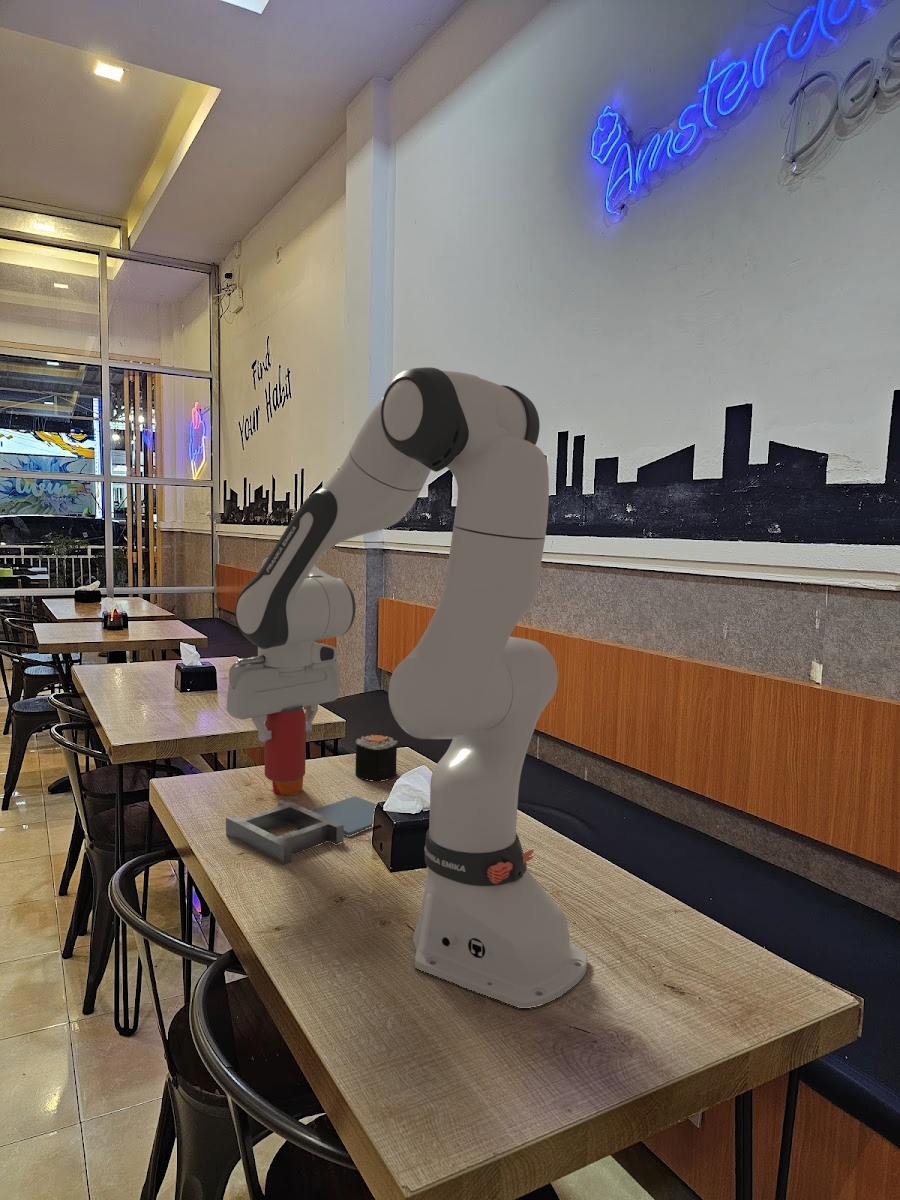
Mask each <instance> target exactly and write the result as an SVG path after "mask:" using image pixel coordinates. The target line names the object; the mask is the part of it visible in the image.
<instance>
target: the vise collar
mask: <svg viewBox="0 0 900 1200" xmlns="http://www.w3.org/2000/svg"><path fill="white" fill-rule="evenodd" d="M289 823H290V824H289ZM292 824H293V825H292ZM286 825H287V826H288V825H292V826H294V825H295V826H294V827H297V826H298V827H297V828H300V829H298V830H295V831H292V832H289V833H286V834H283V835H280V836H277V835H275V834H273V833H270V832H269V831H272V830H275V829H277V828H281V827H283V826H286ZM225 835H226V836H228V837H229V838H231V839H234V840H235V841H237V842H239V843H241V844H243V845H245V846H246V847H248V848H250V849H251V850H253V851H256V852H257V853H260V854H262V855H263V856H265V857H267V858H269V859H270V860H273V861H275V862H276V863H279V864H280V865H282V866H286V865H288V864H289V865H290V864H291V863H292V859H293V858H292V857H293V854H294V855H297V854H299V853H301V851H302V852H304V851H303V850H305V851H307V850H309V849H308V848H310V849H312V848H311V847H313V846H315V847H317V846H316V845H318V844H321V843H323V844H325V843H324V842H326V841H331V842H333V843H335V844H338V843H340V842H343V843H344V840H345V839H344V836H345V835H344V825H342V824H340V823H338V822H336V821H333V820H331V819H329V818H326V817H324V816H322V815H320V814H317V813H315V812H313V811H311V810H310V809H308V808H306V807H304V806H302V805H299V804H297V803H294V802H291V801H289V800H288V799H282V800H279V801H278V802H277V806H275V807H273V808H269V809H266V810H263V811H261V812H257V813H253V814H250V815H247V816H244V817H238V816H236V815H234V814H233V815H230V816H229V815H228V816H226V817H225ZM331 842H330V843H331ZM326 843H327V842H326ZM333 843H332V844H333ZM335 844H334V845H335ZM321 845H322V844H321ZM338 845H339V844H338ZM318 846H319V845H318ZM313 848H314V847H313ZM306 849H307V850H306ZM298 852H299V853H298ZM296 853H297V854H296Z"/></svg>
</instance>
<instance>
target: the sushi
mask: <svg viewBox="0 0 900 1200" xmlns="http://www.w3.org/2000/svg"><path fill="white" fill-rule="evenodd" d="M397 748H398V740H394V738H393V737H392V736H387V735H385V736H384V735H380V734H379V735H378V734H371V735H366V736H364V735H361V737H360V738H357V739H356V740H355V776H356V777H357V778H359V777H360V778H359V779H361V778H363V779H362V780H365V779H368V780H373V781H381V780H386V779H389V778H391V777H394V776H395V777H397V757H398V756H397V753H398V749H397ZM395 777H394V778H395ZM391 779H392V778H391ZM368 780H367V781H368ZM389 780H390V779H389ZM373 781H372V782H373Z"/></svg>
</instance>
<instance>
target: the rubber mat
mask: <svg viewBox="0 0 900 1200" xmlns="http://www.w3.org/2000/svg"><path fill="white" fill-rule="evenodd" d="M376 805H378V804H376V803H374V802H371V801H368V799H367V800H366V799H364V798H361V797H358V796H356V795H354V796H352V797H351V796H350V797H348V798H345V799H341V800H340V801H336V802H333V803H330V804H327V805H325V806H321V807H318V808H314V809H311V810H310V811H313V812H315V813H317V814H320V815H322V816H324V817H326V818H329V819H331V820H333V821H336V822H338V823H340V824H342V825H344V834H346V835H348V836H349V835H352V834H355V833H357V832H360V831H362V830H365V829H366V828H369V827H372V824H373V814H374V809H375V806H376Z"/></svg>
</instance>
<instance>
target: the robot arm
mask: <svg viewBox="0 0 900 1200" xmlns="http://www.w3.org/2000/svg"><path fill="white" fill-rule="evenodd" d="M539 434H540V417H539V413H538V410H537V408H536V406H535V404H534V403H533V402H532V400H531V399H529V397H528V396H526V395H525V394H524V393H522V392H521V391H519V390H518V389H516V388H514V387H511V386H509V385H504V384H503V385H500V384H498V383H496V382H493V381H490V380H487V379H484V378H481V377H479V376H477V375H475V374H470V373H464V372H460V371H451V370H450V371H449V370H441V369H439V368H436V367H429V366H427V367H414V368H409V369H406V370H403V371H401V372H400V373H398V374H397V375H395V377H393V378H392V380H391V381H390V383H389V385H388V386H387V387H386V390H385V392H384V394H383V396H382V397H381V399H380V400H379V401H378V402H377V403H376V405H375V406H374V408H373V409H372V411H371V412H370V414H369V415H368V417H367V418H366V419H365V422H364V423H363V424H362V427H361V428H360V430H359V431H358V433H357V436H356V437H355V440H353V444H352V446H351V447H350V450H349V452H348V454H347V456H346V457H345V459H344V461H343V462H342V464H341V465H340V467H339V468H338V469H337V470H336V472H335V473H334V474H333V475H332V476H331V477H330V479H329V480H328V481H327V482H325V483H324V485H323V486H322V487H321V486H320V488H319V489H318V490H317V491H315V492H314V493H312V494H311V495H310V496H308V498H306V499H305V501H304V502H303V503H302V504H301V506H300V507H299V509H297V511H296V513H295V515H294V516H293V518H292V519H291V520H290V522H289V524H288V525H287V527H286V528H285V530H284V532H283V533H282V534H281V536H280V538H279V540H278V542H277V543H276V545H275V546H274V548H272V549H273V550H272V551H271V553H270V554H269V556H267V557H265V558H264V559H263V560H262V562H261V565H260V570H258V572H257V573H256V574H255V576H254V577H252V578H251V579H250V581H249V582H247V584H245V586H244V588H243V589H242V590H241V592H240V594H239V595H238V598H237V600H236V603H235V610H234V616H235V617H234V618H235V622H236V625H237V628H238V630H239V632H241V634H242V635H243V636H244V637H245V638H246V639H247V641H249V642H251V643H252V644H253V645H255V646H256V647H257V656H252V657H247V658H246V657H245V658H240V659H237V660H236V662H234V663H233V664H232V665H231V666H230V668H229V671H228V682H229V683H228V688H227V695H226V696H227V697H226V712H227V713H228V714H229V715H230V716H231V717H232V718H235V719H237V720H246V719H251V721H252V723H253V725H254V727H255V728H256V730H257V739H258V741H259V742H262V743H265V742H266V741H270V740H272V736H271V735H272V730H270V729H267V728H266V726H265V721H267V714H272V713H277V712H281V710H282V709H295V708H299V707H300V706H303V710H305V711H304V713H305V717H306V733H308V732H311V731H312V730H313V721H314V719H315V717H316V715H317V713H318V711H319V710H318V709H319V705H320V704H325V703H330V702H335V701H336V700H337V699H338V697H339V695H340V694H341V693H340V692H341V677H340V676H341V674H340V667H339V664H338V663H337V661H335V660H338V658H339V648H337V647H334V646H332V645H328V644H324V643H320V642H319V640H326V639H333V638H337V637H340V636H343V635H345V634H346V633H347V632H348V631H349V630H350V629H351V627H352V626H353V623H354V620H355V618H356V608H357V607H356V606H357V605H356V600H355V595H354V593H353V591H352V589H351V587H350V586H349V584H347V583H346V581H344V580H343V579H341V578H338V577H337V578H336V577H333V576H332V575H330V574H328V573H326V572H324V571H323V570H321V569H320V568H318V567H317V566H316V563H317V562H318V560H319V559H320V558H321V556H322V555H323V554H324V553H325V552H327V551H328V550H329V549H331V548H333V547H334V546H337V545H338V544H340V543H343V542H344V541H348V540H350V539H353V538H356V537H359V536H362V535H363V536H364V535H366V534H369V533H374V532H377V531H382V530H385V529H388V528H390V527H392V526H394V525H395V524H397V523H399V522H400V521H401V520H402V519H403V518H404V517H405V516H406V515H407V513H408V512H409V511H410V510H411V509H412V507H413V506H414V504H415V503H416V501H417V498H418V497H419V495H420V494H421V491H422V490H423V488H424V486H425V483H426V481H427V479H428V477H429V476H430V474H431V471H433V472H440V471H442V470H444V469H445V468H446V469H448V470H449V471H450V472H451V473H452V475H453V477H454V478H455V481H456V484H457V500H456V506H455V512H454V519H453V520H454V521H453V527H452V535H451V541H450V548H449V555H448V561H447V568H446V574H445V580H444V585H443V589H442V592H441V596H440V598H439V601H438V603H437V606H436V608H435V610H434V613H433V615H432V617H431V620H429V623H428V625H427V628H426V629H425V631H424V633H423V635H422V636H421V638H420V640H419V641H418V642H417V644H416V646H414V648H413V649H412V650H411V652H410V653H409V654H408V655H407V656H406V657H405V658H404V659H403V660H401V661H400V662H399V663H398V664H397V665H396V667H395V669H393V672H392V674H391V677H390V680H389V684H388V703H389V707H390V711H391V713H392V715H393V717H394V720H395V721H396V723H397V724H398V725H399V727H400V728H401V729H402V730H403V731H404V732H405V734H408V735H409V736H411V737H413V738H416V739H420V740H452V741H451V742H450V745H449V747H447V748H448V749H447V750H446V752H445V753H444V755H443V756H442V757H441V758H440V759H439V761H438V762H437V764H436V765H435V767H434V768H433V771H432V774H431V777H430V787H429V788H430V789H429V790H430V792H429V821H428V823H429V824H428V825H429V827H428V830H426V833H425V845H424V862H425V865H426V874H425V875H426V878H425V885H424V892H423V897H422V902H421V907H420V913H419V917H418V919H417V920H418V921H417V923H416V927H415V929H414V932H413V936H412V940H413V941H412V942H413V945H414V948H415V951H416V952H415V955H414V963H413V966H414V965H415V966H414V968H415V969H416V968H417V969H419V970H421V971H420V972H422V971H424V972H423V973H425V972H427V973H429V974H428V975H430V974H432V975H434V976H433V977H435V976H438V977H439V978H438V977H437V978H438V979H440V978H443V979H446V980H448V981H450V982H449V983H451V982H453V983H455V984H454V985H456V984H457V985H456V986H458V985H459V987H461V988H464V989H466V988H467V990H470V991H471V990H472V991H471V992H474V991H475V992H474V993H477V994H479V993H480V994H479V995H482V994H483V995H482V996H484V995H486V996H485V997H487V996H488V998H490V997H491V998H490V999H492V998H495V999H498V1000H501V1001H503V1002H507V1003H509V1004H512V1005H514V1006H519V1007H530V1006H531V1007H532V1006H537V1005H540V1004H544V1003H547V1002H549V1001H552V1000H554V1001H556V1000H557V999H556V998H558V997H560V996H561V997H563V996H564V995H565V994H564V993H566V992H567V991H568V990H570V989H571V988H572V987H573V986H574V987H576V986H577V985H578V984H579V983H580V982H581V980H582V979H583V978H584V977H585V975H586V973H587V970H588V955H587V953H586V952H585V951H583V950H582V949H580V948H579V947H578V946H576V945H574V944H573V943H572V942H570V933H569V932H570V931H569V925H568V921H567V916H566V914H565V913H564V911H563V910H562V908H561V907H559V905H558V904H557V903H556V902H555V901H554V900H553V899H552V897H551V895H549V894H548V893H547V892H546V890H545V889H544V888H543V887H542V886H541V885H540V883H539V881H537V880H536V879H535V877H534V876H533V875H532V874H531V873H530V871H528V869H527V868H528V867H527V862H529V861H531V860H532V859H534V855H532V854H533V853H534V851H535V849H529V850H528V851H526V852H524V851H523V847H522V845H521V844H522V843H521V841H520V837H519V835H518V833H517V821H518V820H517V819H518V807H519V790H520V781H521V775H522V770H523V766H524V762H525V758H526V756H527V752H528V750H529V747H530V743H531V740H532V736H533V734H534V731H535V728H536V726H537V723H538V721H539V719H540V717H541V714H542V713H543V712H544V710H545V708H546V707H547V706H548V704H549V703H550V702H551V700H552V699H553V697H554V696H555V694H556V692H557V689H558V682H559V671H558V667H557V664H556V661H555V659H554V657H553V655H552V654H551V652H550V651H549V650H548V648H547V647H545V646H544V645H543V644H541V643H540V642H538V641H535V640H533V639H532V640H531V639H528V638H522V637H517V636H511V635H512V633H513V631H514V629H516V628H515V627H516V626H517V625H518V623H519V621H520V620H521V619H522V617H523V616H524V615H525V614H527V612H528V611H530V609H531V607H532V605H533V604H534V603H535V601H536V598H537V594H538V586H539V580H540V574H541V567H542V560H543V555H544V554H543V553H544V548H545V542H546V541H545V540H546V535H547V525H548V518H549V517H548V515H549V497H550V490H549V489H550V486H549V485H550V481H549V480H550V479H549V465H548V464H549V463H548V460H547V457H546V455H545V454H544V452H543V451H542V449H540V448H539V447H538V446H537V442H538V439H539V437H540V436H539ZM417 969H416V970H417ZM419 970H418V971H419ZM427 973H426V974H427ZM432 975H431V976H432ZM443 979H442V980H443ZM448 981H447V982H448ZM578 982H579V983H578ZM453 983H452V984H453ZM577 983H578V984H577ZM576 984H577V985H576ZM575 985H576V986H575ZM574 987H573V988H574ZM573 988H572V989H573ZM572 989H571V990H572ZM571 990H570V991H571ZM568 992H569V991H568ZM568 992H567V993H568ZM567 993H566V994H567ZM563 994H564V995H563ZM562 995H563V996H562ZM561 997H560V998H561ZM495 999H494V1000H495ZM555 999H556V1000H555ZM558 999H559V998H558ZM503 1002H502V1003H503ZM552 1002H553V1001H552Z"/></svg>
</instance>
